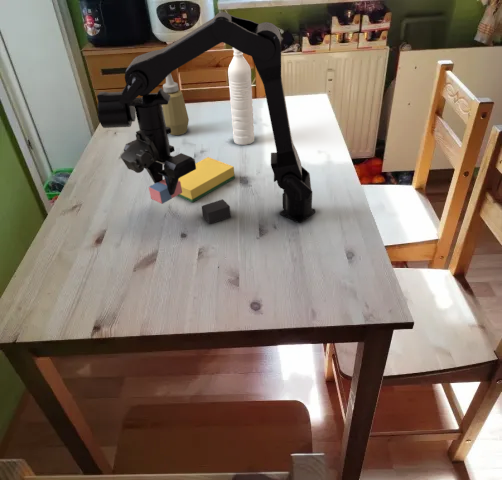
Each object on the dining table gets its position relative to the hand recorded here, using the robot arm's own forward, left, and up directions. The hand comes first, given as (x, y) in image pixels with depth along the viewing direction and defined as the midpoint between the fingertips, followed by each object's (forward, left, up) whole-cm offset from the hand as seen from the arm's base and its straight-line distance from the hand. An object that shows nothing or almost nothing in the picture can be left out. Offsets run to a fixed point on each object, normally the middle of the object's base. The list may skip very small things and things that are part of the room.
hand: (166, 191), depth 110 cm
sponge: (+6, -16, -7) cm, 18 cm away
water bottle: (+16, -44, -7) cm, 47 cm away
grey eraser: (-9, -7, -7) cm, 13 cm away
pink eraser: (0, 0, -1) cm, 1 cm away
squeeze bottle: (+38, -36, -7) cm, 53 cm away
